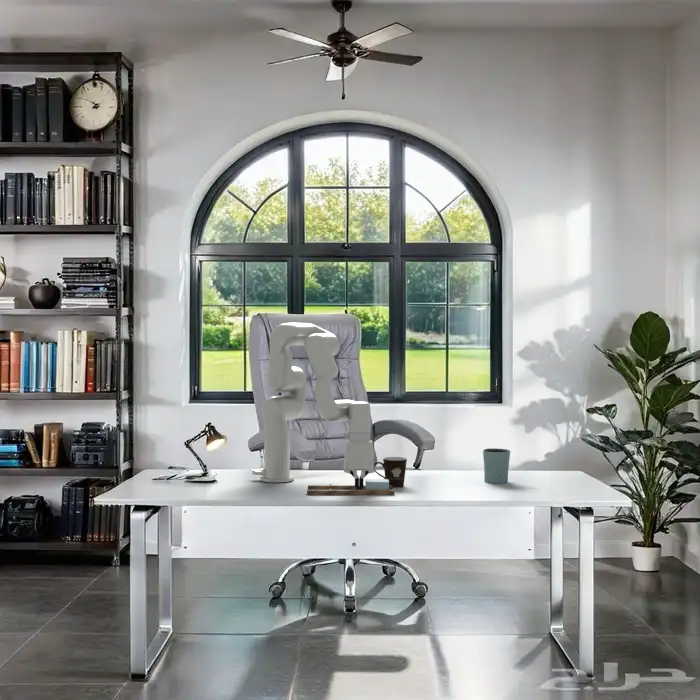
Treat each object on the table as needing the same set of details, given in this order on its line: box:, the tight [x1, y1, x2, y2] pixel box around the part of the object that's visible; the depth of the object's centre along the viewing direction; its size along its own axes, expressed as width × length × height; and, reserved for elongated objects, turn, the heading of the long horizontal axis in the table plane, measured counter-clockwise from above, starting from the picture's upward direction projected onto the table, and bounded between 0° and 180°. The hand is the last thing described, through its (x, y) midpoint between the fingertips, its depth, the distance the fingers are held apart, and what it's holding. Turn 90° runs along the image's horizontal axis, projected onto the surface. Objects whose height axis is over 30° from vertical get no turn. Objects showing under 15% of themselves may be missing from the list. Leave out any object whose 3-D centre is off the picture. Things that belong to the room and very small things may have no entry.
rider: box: [365, 478, 389, 490], centre depth 316 cm, size 8×6×4 cm
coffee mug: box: [374, 456, 408, 488], centre depth 329 cm, size 12×9×10 cm
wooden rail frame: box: [306, 484, 395, 496], centre depth 316 cm, size 30×10×2 cm, turn 91°
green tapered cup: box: [482, 447, 511, 485], centre depth 338 cm, size 10×10×12 cm
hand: (359, 489), depth 316 cm, fingers closed
